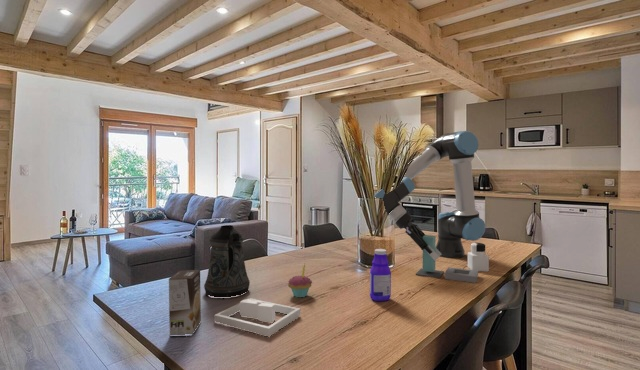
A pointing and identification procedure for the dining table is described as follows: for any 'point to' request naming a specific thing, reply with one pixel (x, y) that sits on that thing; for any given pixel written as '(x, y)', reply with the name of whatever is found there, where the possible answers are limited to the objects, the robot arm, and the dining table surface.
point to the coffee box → (184, 302)
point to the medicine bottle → (478, 258)
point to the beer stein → (226, 264)
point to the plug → (427, 259)
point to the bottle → (380, 277)
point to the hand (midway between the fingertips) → (438, 257)
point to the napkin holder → (258, 310)
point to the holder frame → (261, 329)
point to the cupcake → (300, 284)
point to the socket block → (461, 274)
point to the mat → (430, 273)
